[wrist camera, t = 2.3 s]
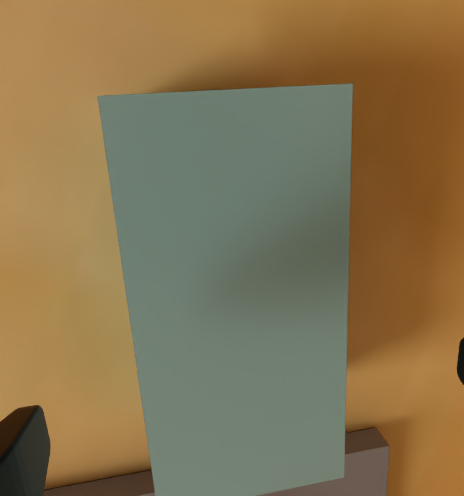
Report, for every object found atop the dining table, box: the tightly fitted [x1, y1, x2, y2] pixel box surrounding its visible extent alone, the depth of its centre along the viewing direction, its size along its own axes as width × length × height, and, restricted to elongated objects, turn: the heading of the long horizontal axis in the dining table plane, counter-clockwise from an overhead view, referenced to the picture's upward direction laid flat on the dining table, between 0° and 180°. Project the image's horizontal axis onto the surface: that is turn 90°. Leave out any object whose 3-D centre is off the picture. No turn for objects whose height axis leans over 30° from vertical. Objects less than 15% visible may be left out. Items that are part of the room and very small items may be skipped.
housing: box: [98, 83, 353, 496], centre depth 14 cm, size 6×12×5 cm, turn 3°
